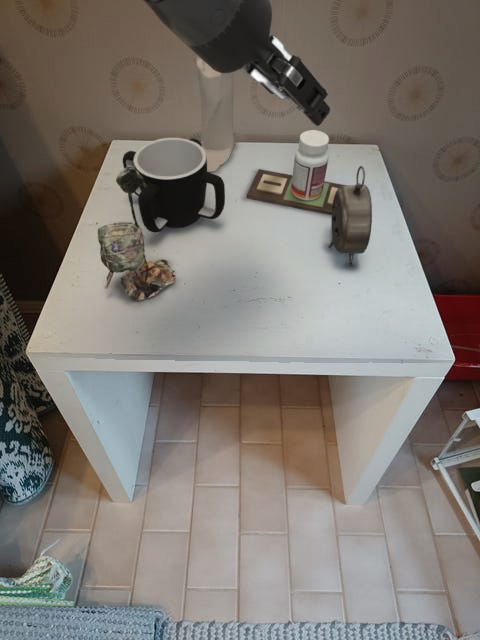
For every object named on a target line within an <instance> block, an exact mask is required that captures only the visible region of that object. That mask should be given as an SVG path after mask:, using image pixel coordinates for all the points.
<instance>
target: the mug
mask: <svg viewBox="0 0 480 640" xmlns="http://www.w3.org/2000/svg"><path fill="white" fill-rule="evenodd" d="M122 165H123V169H125V168H126V167H127V166H129V165H130V166H132V167H133V168H134V169H136V171H138V172H139V173H140V174H141V176H142V177H143V182H144V183H145V184H146V185H147V186H146V187H144V186H143V185H140V186H139V187H138V188H137V190H136V191H135V192H134V193H133V194H134V195H136V196H137V197H138V199H137V203H138V209H139V213H140V214H139V215H140V217H141V221H142V224H143V226H144V227H145V229H146V230H147V231H148V232H150V233H153V234H157V233H161V232H162V231H163V230H164V229H165V228H169V229H181V228H186V227H189V226H191V225H194V224H195V223H196V222H198V220H199V219H200V218H203V219H207V220H215V219H217V218H219V217H220V216H221V214H222V213H223V211H224V209H225V205H226V204H225V203H226V188H225V182H224V180H223V178H222V177H221V176H220V175H218V174H215V173H212V172H207V156H206V152H205V150H204V149H203V148H202V145H201V140H199V139H197V138H190V139H187V138H182V137H164V138H158V139H154V140H152V141H150V142H147V143H146V144H143V145H142V146H141V147H139V149H138V150H137V151H135V150H127V152H125V153H124V154H123V156H122ZM208 184H210V185H212V186H213V189H214V198H215V199H214V201H215V202H214V203H215V204H214V209H213V208H209V207H206V206H205V202H206V196H207V195H206V194H207V185H208Z"/></svg>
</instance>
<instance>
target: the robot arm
mask: <svg viewBox="0 0 480 640" xmlns="http://www.w3.org/2000/svg"><path fill="white" fill-rule="evenodd" d="M142 1H143V2H144V3H145V4H146V5H147V6H148V7H149V8H150V10H151V11H152V12H153V13H154V15H155V16H156V17H157V18H158V19H159V21H161V23H162V24H163V25H164V26H165V27H166V28H167V29H168V30H169V31H170V32H172V33H173V34H174V35H175V36H176V37H177V38H178V39H179V40H180V41H181V42H183V44H184V45H186V46H187V47H188V48H189V49H190V50H191V51H192V52H193V53H194V54H196V55H198V56H199V57H200V58H201V59H202V60H203V61H204V62H206V63H207V64H208V65H209V66H210V67H211V68H212V69H213V70H215V71H217V72H219V73H231V72H233V73H236V71H237V72H238V71H241V72H242V73H243V74H244V75H246V77H248V76H249V77H250V78H251V79H252V80H253V81H254V82H256V83H258V84H260V85H261V86H262V87H263V89H265V90H266V92H268V93H270V94H272V95H274V96H275V97H277V98H278V99H279V100H285V99H287V100H288V101H289V102H290V103H292V104H293V105H294V106H295V107H296V109H297V110H298V111H299V112H302V113H303V115H305V117H306V118H307V119H308V120H309V121H310V122H311V123H312V124H314V125H315V126H316V127H319V126H321V125H322V123H323V122H324V121H325V120H326V118H327V117H328V116H329V114H330V112H331V107H330V106H329V105H328V104H327V102H326V101H325V99H326V98H327V97H328V95H329V93H328V92H327V89H326V88H324V87H323V86H322V85H321V83H320V82H319V81H318V79H317V78H316V77H315V76H314V75H313V73H311V71H310V70H309V69H308V68H307V66H306V65H305V63H303V61H302V59H301V58H300V57H299V56H297V55H294V54H292V55H291V54H290V53H289V52H288V51H287V50H286V49H285V44H284V43H283V42H281V40H279V39H278V38H277V37H276V36H275V35H274V34H272V33H271V27H272V21H273V10H272V4H271V1H270V0H142Z"/></svg>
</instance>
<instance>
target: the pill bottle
mask: <svg viewBox="0 0 480 640" xmlns="http://www.w3.org/2000/svg"><path fill="white" fill-rule="evenodd" d="M329 142H330V138H329V136H328V135H327V134H326V132H324V131H320V130H316V129H311V130H310V129H309V130H306V131H303V132H302V133H301V134H300V136H299V141H298V147H297V149H296V150H295V153H294V159H293V168H292V175H293V176H292V184H291V192H292V194H293V195H294V196H295V197H297V198H299V199H301V200H314V199H317V198H318V197H320V195H321V194H322V191H323V186H324V181H325V180H326V174H327V169H328V164H329V158H330V154H329V151H328V149H329V144H330V143H329Z"/></svg>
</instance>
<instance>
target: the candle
mask: <svg viewBox="0 0 480 640" xmlns="http://www.w3.org/2000/svg"><path fill="white" fill-rule="evenodd" d="M196 55H197V54H196ZM196 73H197V82H198V87H199V98H200V99H199V100H200V143H201V145H202V148H203V149H204V150H205V152H206V156H207V172H209V173H212V172H213V173H214V172H216V171H217V170H218V169H219V167H221V166H222V165H225V163H227V162H228V160H229V159H230V157H231V155H232V152H233V150H234V149H235V130H234V98H235V97H234V96H235V95H234V93H235V92H234V89H235V88H234V86H235V85H234V84H235V83H234V81H235V79H234V72H231V73H219V72H217V71H215V70H213V69H212V68H211V67H210V66H209V65H208V64H207V63H206V62H204V61H203V60H202V59H201V58H200V57H199V56H198V55H197V58H196Z"/></svg>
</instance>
